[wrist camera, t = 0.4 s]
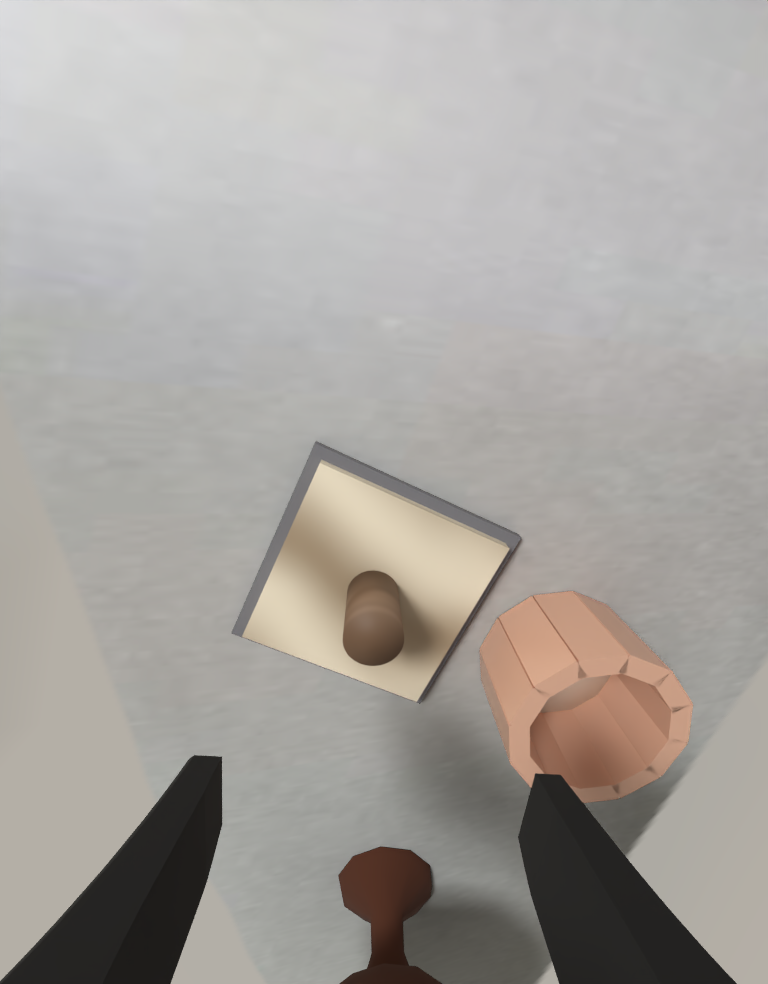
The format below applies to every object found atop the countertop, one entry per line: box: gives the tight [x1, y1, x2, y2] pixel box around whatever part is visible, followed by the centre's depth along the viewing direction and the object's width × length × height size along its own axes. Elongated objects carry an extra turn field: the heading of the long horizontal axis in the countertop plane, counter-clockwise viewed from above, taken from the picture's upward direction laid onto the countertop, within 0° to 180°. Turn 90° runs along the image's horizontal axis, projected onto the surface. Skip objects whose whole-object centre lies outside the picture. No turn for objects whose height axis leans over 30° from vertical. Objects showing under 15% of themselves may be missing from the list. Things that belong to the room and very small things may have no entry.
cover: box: [242, 460, 510, 702], centre depth 17 cm, size 9×9×4 cm
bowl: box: [480, 591, 693, 803], centre depth 19 cm, size 7×7×4 cm
